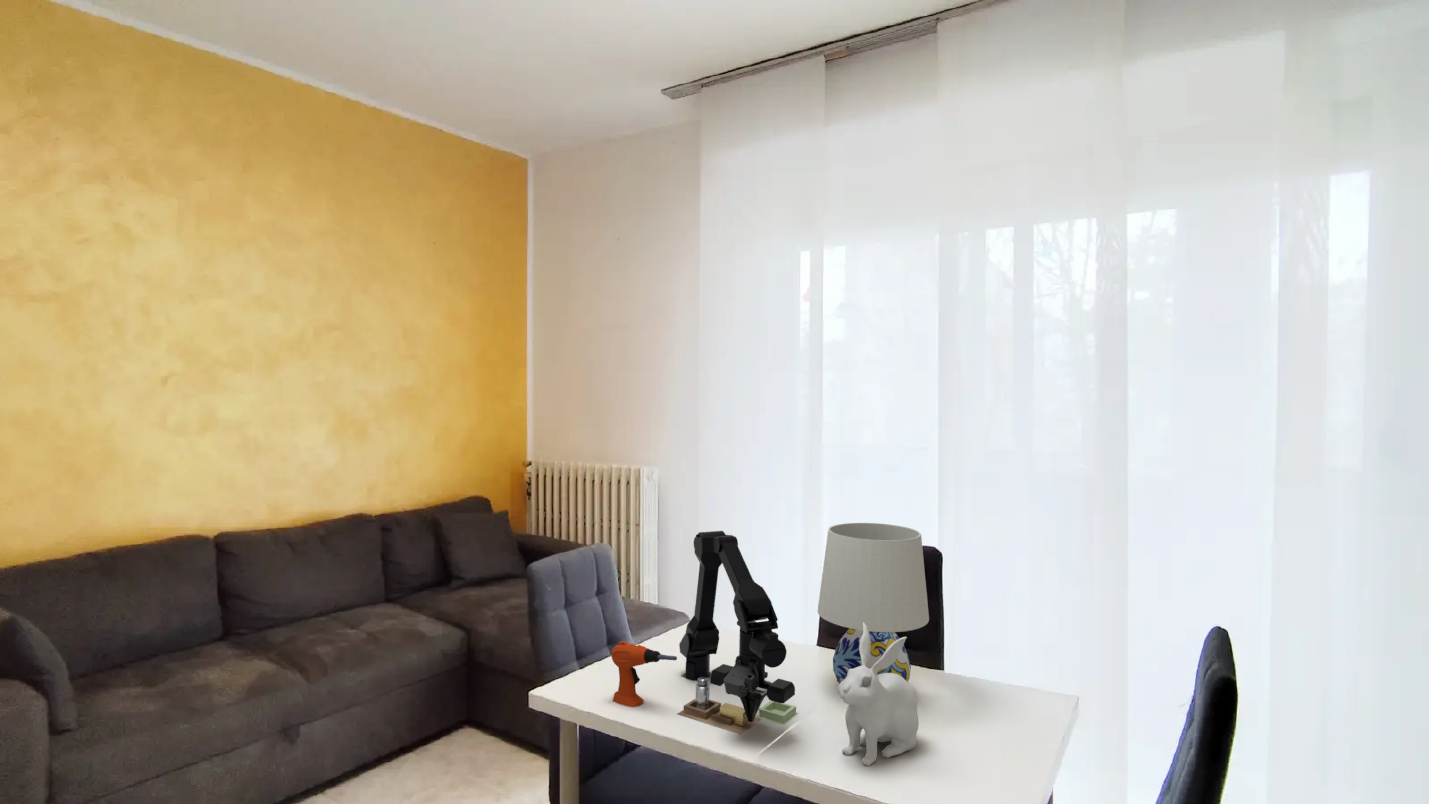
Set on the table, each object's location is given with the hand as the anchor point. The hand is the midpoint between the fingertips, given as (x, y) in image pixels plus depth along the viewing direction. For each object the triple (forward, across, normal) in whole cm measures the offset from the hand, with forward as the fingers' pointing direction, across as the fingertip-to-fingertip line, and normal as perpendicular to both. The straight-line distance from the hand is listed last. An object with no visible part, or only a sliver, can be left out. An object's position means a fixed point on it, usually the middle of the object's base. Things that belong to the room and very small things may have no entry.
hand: (750, 721), depth 161 cm
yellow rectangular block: (+1, -4, 0) cm, 4 cm away
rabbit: (+2, +26, +7) cm, 27 cm away
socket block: (+2, -8, 0) cm, 8 cm away
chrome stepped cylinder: (+1, -13, 0) cm, 13 cm away
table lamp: (+2, +14, +35) cm, 38 cm away
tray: (+2, +2, +8) cm, 9 cm away
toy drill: (+2, -26, -5) cm, 26 cm away
